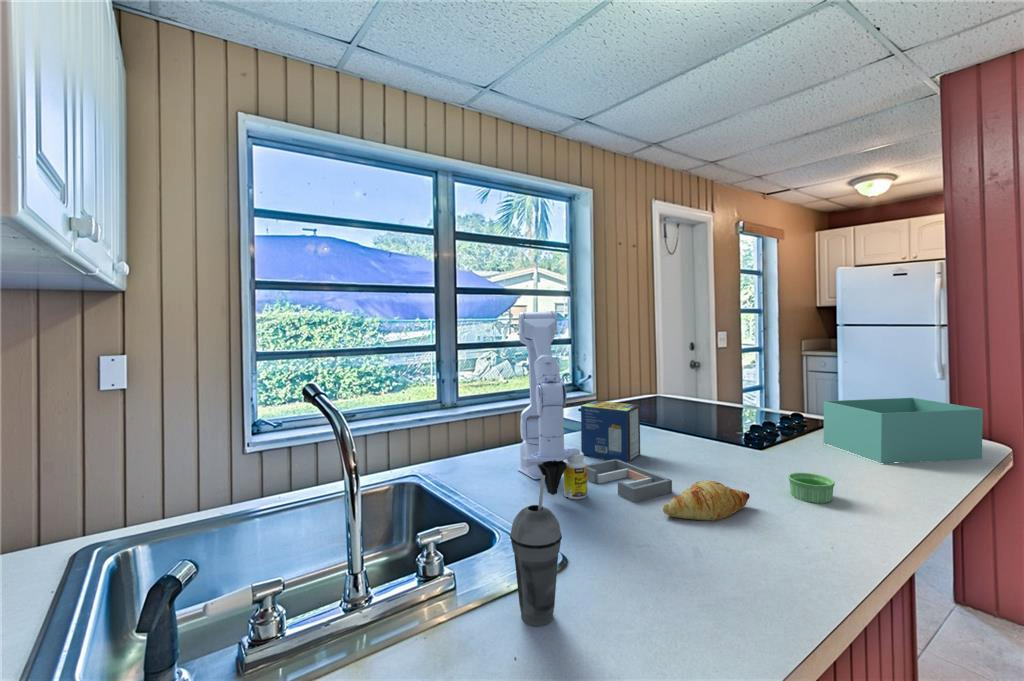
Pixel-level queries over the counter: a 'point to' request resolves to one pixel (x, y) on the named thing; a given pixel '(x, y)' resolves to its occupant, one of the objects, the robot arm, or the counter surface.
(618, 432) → the protein box
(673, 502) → the croissant
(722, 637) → the counter surface
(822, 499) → the ramekin
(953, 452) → the box
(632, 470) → the frame
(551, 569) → the beverage cup
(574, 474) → the supplement bottle
